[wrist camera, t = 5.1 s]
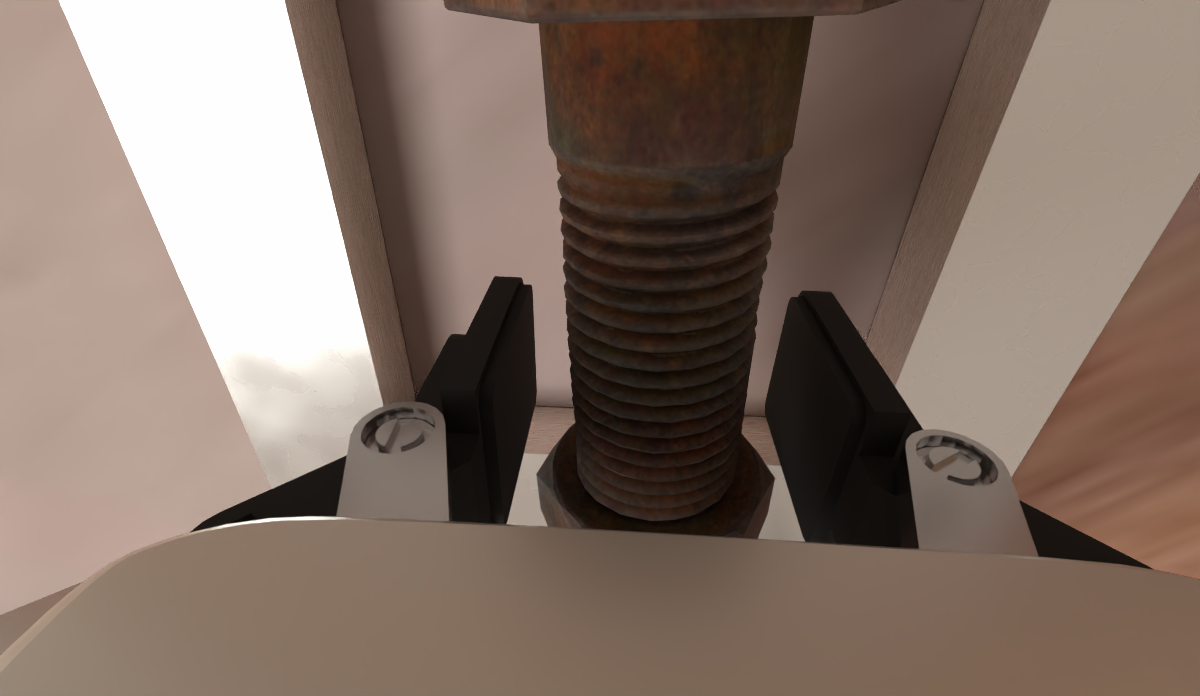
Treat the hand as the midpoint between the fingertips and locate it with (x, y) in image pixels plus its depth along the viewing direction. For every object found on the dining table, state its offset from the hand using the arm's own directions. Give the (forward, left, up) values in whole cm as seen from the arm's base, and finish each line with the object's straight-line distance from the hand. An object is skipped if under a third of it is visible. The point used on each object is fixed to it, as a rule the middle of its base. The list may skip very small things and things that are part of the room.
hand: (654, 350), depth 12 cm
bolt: (0, 0, -1) cm, 1 cm away
